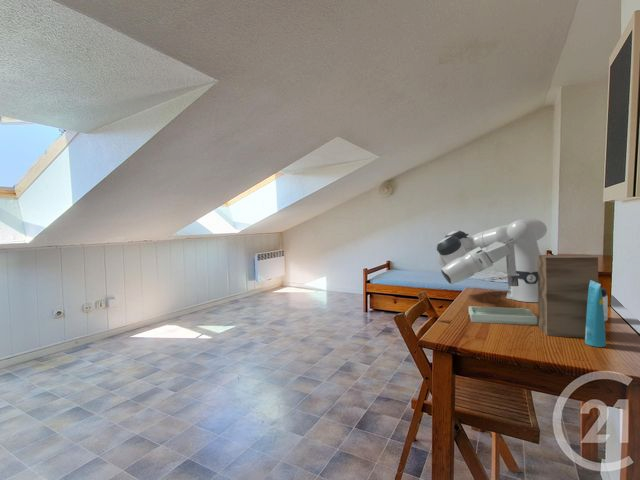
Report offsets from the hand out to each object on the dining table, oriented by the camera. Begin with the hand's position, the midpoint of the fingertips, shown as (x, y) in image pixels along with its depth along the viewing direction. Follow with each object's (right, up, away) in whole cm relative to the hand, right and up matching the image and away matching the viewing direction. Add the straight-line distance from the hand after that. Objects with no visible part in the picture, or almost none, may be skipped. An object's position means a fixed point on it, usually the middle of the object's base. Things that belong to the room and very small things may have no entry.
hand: (515, 239), depth 127 cm
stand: (+8, -31, -15) cm, 36 cm away
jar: (+28, -30, -2) cm, 41 cm away
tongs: (-2, -9, +1) cm, 10 cm away
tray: (-4, -31, +3) cm, 32 cm away
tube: (+8, -32, -27) cm, 43 cm away
